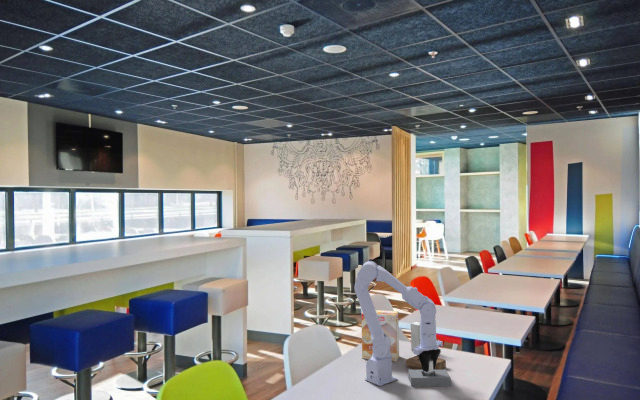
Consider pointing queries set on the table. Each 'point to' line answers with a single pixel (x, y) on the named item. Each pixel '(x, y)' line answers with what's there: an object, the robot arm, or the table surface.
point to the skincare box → (415, 335)
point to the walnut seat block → (416, 365)
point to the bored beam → (429, 378)
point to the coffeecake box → (391, 329)
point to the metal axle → (430, 372)
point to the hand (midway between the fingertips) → (428, 369)
